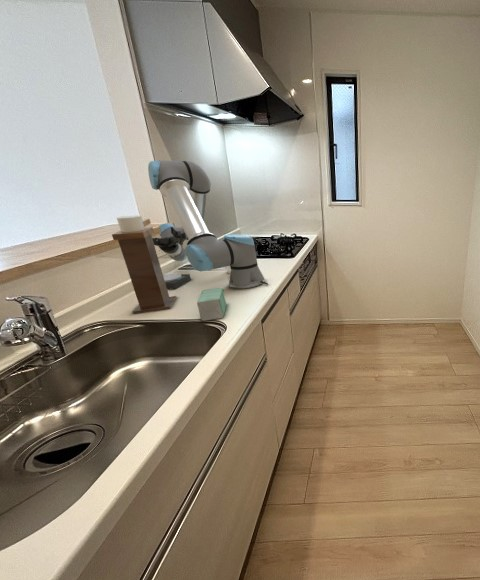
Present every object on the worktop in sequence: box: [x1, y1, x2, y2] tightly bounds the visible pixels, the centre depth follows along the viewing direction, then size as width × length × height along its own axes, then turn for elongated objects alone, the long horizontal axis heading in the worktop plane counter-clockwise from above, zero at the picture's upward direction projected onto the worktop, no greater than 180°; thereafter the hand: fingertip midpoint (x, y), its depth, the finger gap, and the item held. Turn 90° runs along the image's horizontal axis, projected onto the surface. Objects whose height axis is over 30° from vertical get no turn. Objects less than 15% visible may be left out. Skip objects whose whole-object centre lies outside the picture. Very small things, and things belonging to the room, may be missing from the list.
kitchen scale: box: [163, 273, 192, 290], centre depth 147 cm, size 13×13×4 cm
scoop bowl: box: [116, 214, 152, 232], centre depth 119 cm, size 21×7×5 cm, turn 22°
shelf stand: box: [111, 226, 178, 315], centre depth 119 cm, size 12×12×30 cm
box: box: [196, 287, 227, 322], centre depth 117 cm, size 7×14×8 cm, turn 22°
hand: (153, 231), depth 135 cm, fingers open, 13 cm apart
